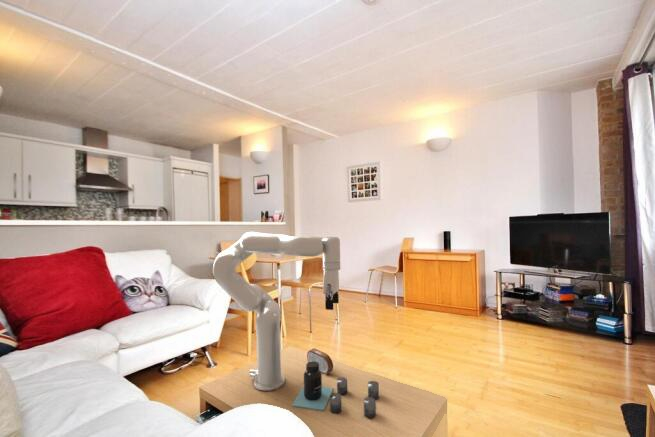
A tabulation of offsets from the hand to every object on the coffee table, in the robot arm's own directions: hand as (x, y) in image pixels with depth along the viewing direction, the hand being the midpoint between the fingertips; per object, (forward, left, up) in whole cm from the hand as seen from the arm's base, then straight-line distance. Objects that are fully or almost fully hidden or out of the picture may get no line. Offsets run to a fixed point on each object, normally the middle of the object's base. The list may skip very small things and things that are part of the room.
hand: (332, 306), depth 130 cm
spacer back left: (+6, -10, -30) cm, 33 cm away
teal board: (-4, -16, -30) cm, 34 cm away
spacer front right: (+18, -21, -30) cm, 41 cm away
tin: (-8, +5, -31) cm, 32 cm away
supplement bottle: (-4, -16, -30) cm, 34 cm away
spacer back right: (+18, -10, -30) cm, 37 cm away
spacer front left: (+6, -21, -30) cm, 38 cm away
